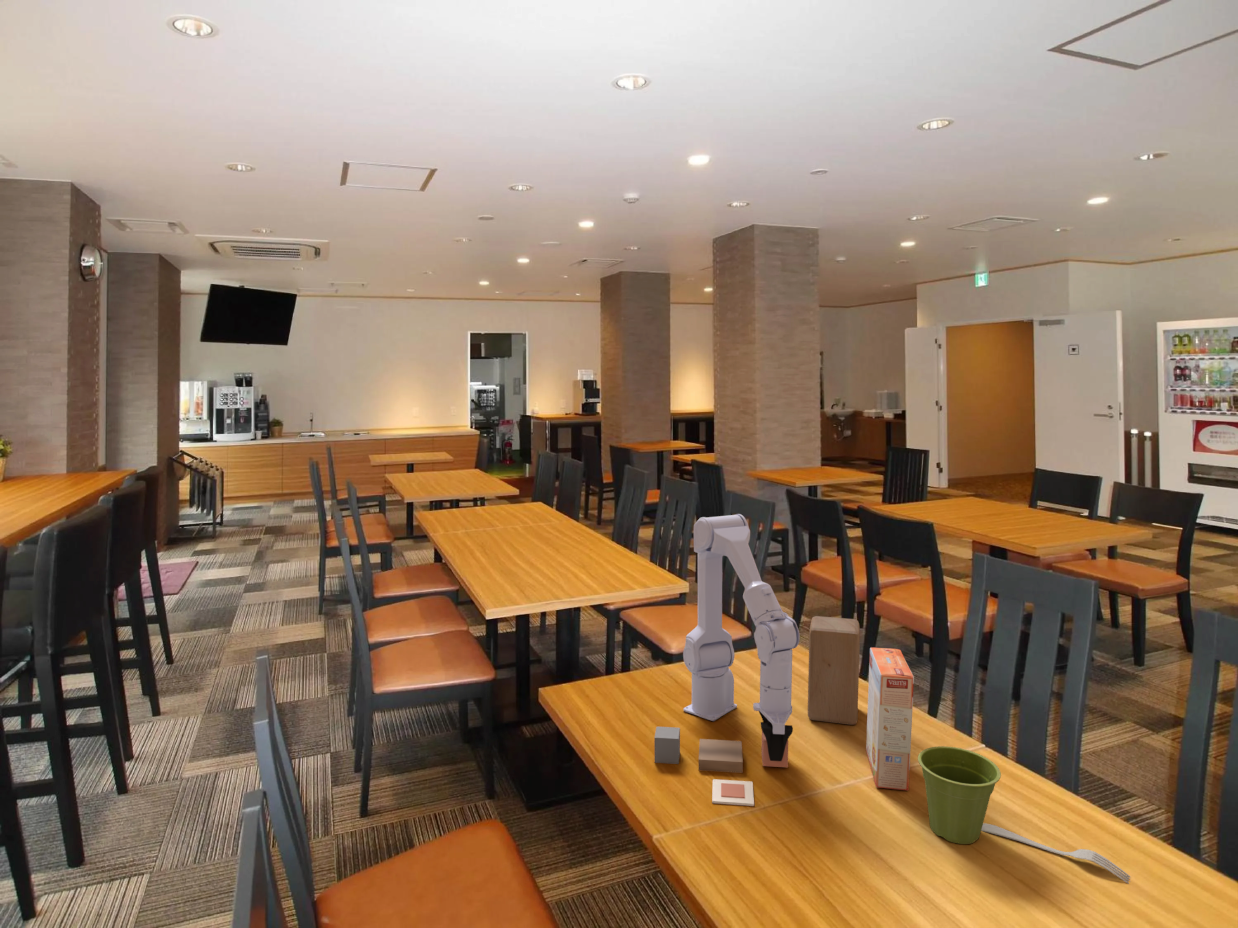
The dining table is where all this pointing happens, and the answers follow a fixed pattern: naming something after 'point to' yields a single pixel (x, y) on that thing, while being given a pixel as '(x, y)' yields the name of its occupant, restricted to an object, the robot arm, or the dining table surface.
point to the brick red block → (766, 758)
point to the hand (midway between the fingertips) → (774, 752)
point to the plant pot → (957, 791)
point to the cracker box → (889, 718)
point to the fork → (1077, 854)
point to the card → (732, 792)
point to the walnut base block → (720, 755)
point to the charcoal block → (667, 745)
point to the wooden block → (833, 670)
